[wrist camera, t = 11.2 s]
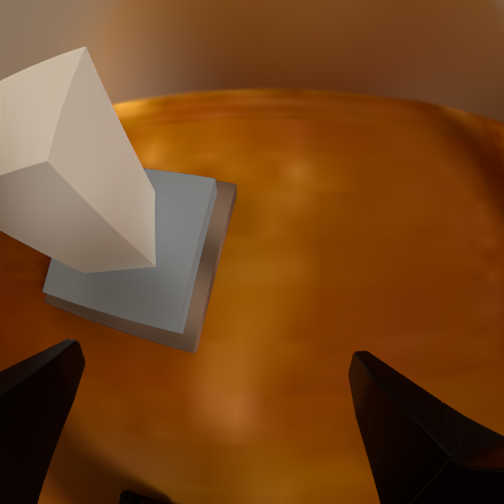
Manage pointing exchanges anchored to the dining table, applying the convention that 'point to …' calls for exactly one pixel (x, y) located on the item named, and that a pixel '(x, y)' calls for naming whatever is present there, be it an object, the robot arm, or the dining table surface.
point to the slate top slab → (167, 260)
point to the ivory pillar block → (72, 170)
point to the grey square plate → (200, 289)
